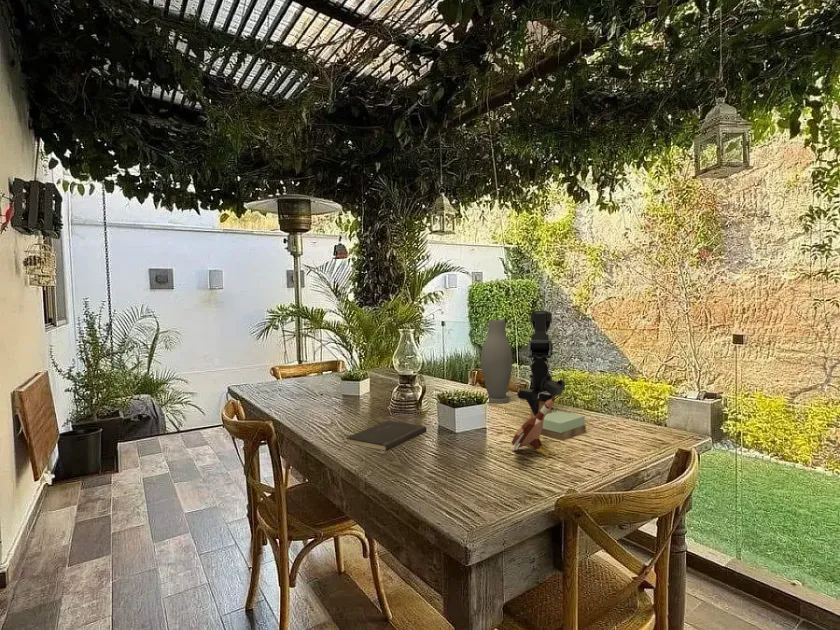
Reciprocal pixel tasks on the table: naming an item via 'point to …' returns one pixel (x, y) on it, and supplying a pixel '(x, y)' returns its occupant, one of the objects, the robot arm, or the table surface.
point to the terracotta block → (540, 408)
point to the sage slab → (562, 421)
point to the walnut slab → (564, 433)
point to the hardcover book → (386, 435)
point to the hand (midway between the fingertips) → (540, 415)
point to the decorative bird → (533, 431)
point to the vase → (496, 362)
